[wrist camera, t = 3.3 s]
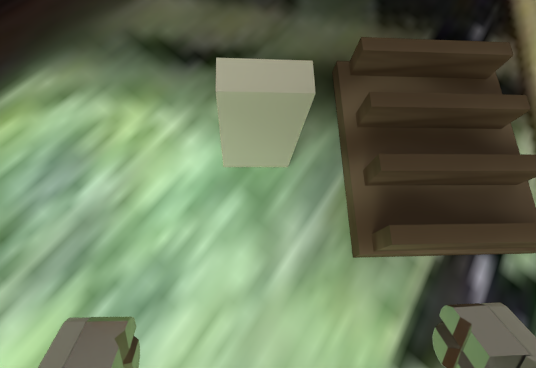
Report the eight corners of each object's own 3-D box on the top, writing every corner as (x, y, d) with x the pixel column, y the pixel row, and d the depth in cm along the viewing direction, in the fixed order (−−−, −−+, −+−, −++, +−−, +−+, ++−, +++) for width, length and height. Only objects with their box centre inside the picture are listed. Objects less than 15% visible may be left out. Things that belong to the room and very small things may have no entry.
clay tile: (287, 167, 27) (315, 93, 17) (223, 166, 26) (215, 91, 17) (286, 143, 27) (312, 60, 18) (223, 143, 27) (216, 57, 17)
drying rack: (531, 253, 26) (588, 243, 22) (352, 257, 25) (376, 248, 21) (482, 76, 31) (520, 40, 27) (332, 72, 30) (347, 34, 26)
